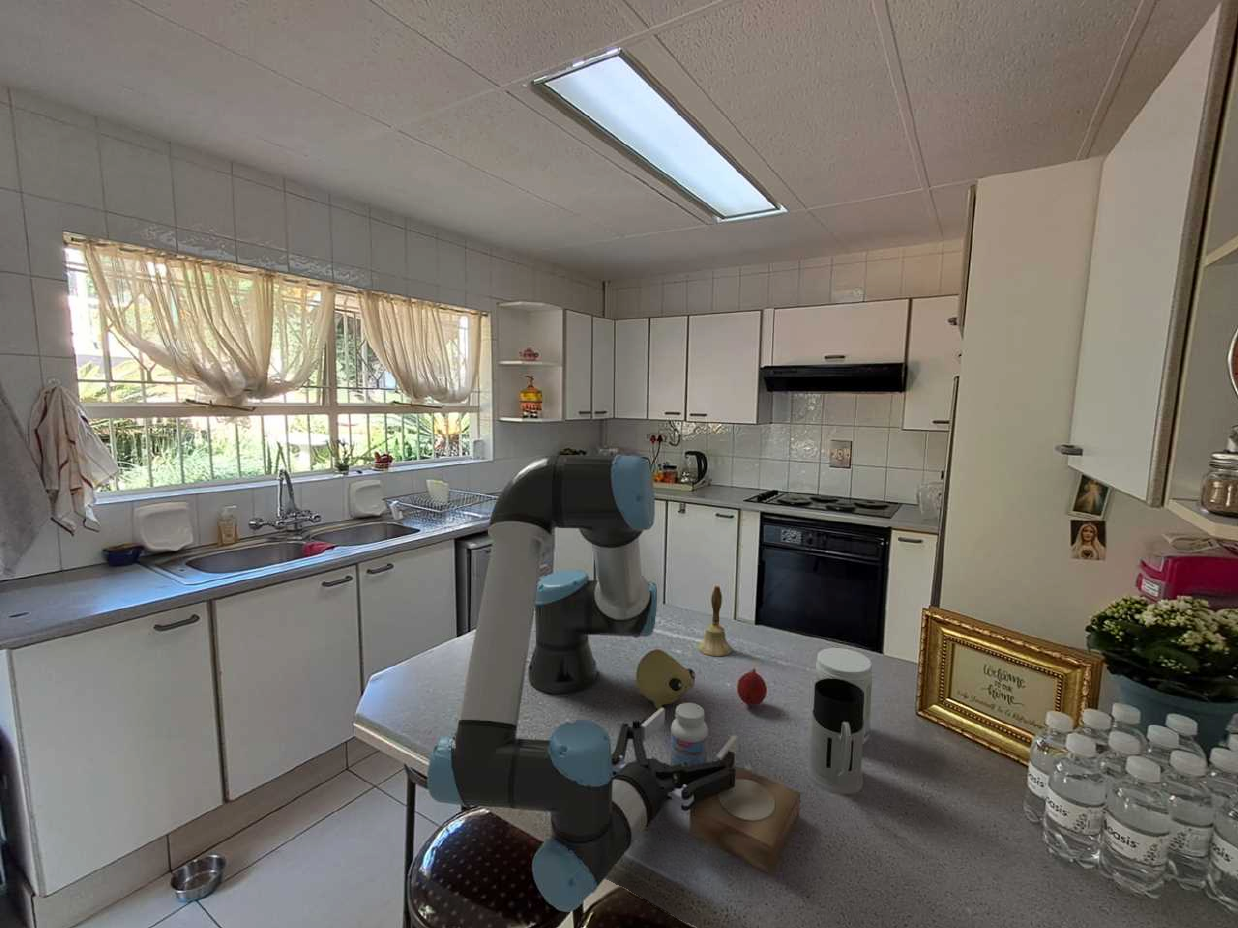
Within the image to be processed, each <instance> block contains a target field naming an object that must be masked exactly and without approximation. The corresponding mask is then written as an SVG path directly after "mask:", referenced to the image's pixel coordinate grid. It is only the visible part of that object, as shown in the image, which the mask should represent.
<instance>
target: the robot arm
mask: <svg viewBox="0 0 1238 928" xmlns="http://www.w3.org/2000/svg"><path fill="white" fill-rule="evenodd" d="M654 491H655V490H654V480H653V474H652V471H651V467H650V464H649V462H648V461H647V460H646V459H645V458H644V457H641V456H633V455H627V454H613V455H612V454H605V455H604V454H596V455H595V454H588V455H587V454H586V455H585V454H575V455H573V454H568V455H567V454H548V455H544V456H541V457H537V458H536V459H534V460H532V461H531V462H529V463H528V464H526V465H525V466H523V467H522V468H521V469H520V470H519V471H517V472H516V473H515V475H514V476H513V477H511V479H510V480H509V481H508V483H507V484H506V485H505V487H504V488H503V490H502V491H501V492H500V494H499V496H498V498H497V499H496V501H495V505H494V507H493V509H492V512H491V515H490V519H489V523H488V529H487V534H488V536H489V537H490V538H491V540H492V545H491V550H490V555H489V559H488V563H487V564H488V565H487V570H486V576H485V580H484V586H483V591H482V595H481V596H482V597H481V602H480V607H479V611H478V617H477V623H476V628H475V633H474V638H473V643H472V649H471V653H470V659H469V662H468V663H469V664H468V670H467V675H466V680H465V684H464V691H463V694H462V695H463V696H462V701H461V706H460V711H459V715H458V723H457V727H456V731H455V733H451V734H450V733H449V734H448V733H447V734H444V735H442V736H441V737H439V739H438V740H437V742H436V743H435V745H434V746H433V747H434V748H433V752H432V754H431V755H430V758H429V763H428V767H427V768H428V769H427V773H426V774H427V776H426V777H427V778H426V779H427V780H426V783H427V790H428V793H429V795H430V797H431V798H432V799H433V800H434V801H436V802H438V803H442V804H450V805H456V806H457V805H458V806H463V807H464V808H469V807H483V808H484V807H486V808H501V809H502V808H504V809H513V810H514V809H515V810H523V811H534V812H535V811H536V812H549V813H550V831H551V833H550V836H549V837H548V838H547V839H545V840H544V842H542V844H541V845H540V847H539V848H538V849H537V851H536V852H535V854H534V856H533V858H532V863H531V868H532V876H533V880H534V882H535V884H536V888H537V890H538V891H539V893H540V894H541V896H542V897H543V898H544V900H545V901H546V902H547V903H549V905H551V906H553V907H554V908H555V909H556V910H558V911H560V912H563V913H564V912H566V913H568V912H573V911H575V910H576V909H578V908H579V907H580V906H581V905H582V904H583V903H584V902H585V900H587V898H588V897H589V896H590V895H591V894H594V893H595V892H596V890H597V889H598V888H599V886H600V885H601V884H602V882H603V881H604V879H605V878H607V876H608V875H609V874H610V872H612V870H613V869H614V868H615V866H616V865H617V864H618V862H619V861H620V860H621V858H622V857H623V856H624V855H625V853H626V852H627V851H628V850H629V848H631V846H632V845H633V844H634V843H635V842H636V840H637V839H638V838H639V837H640V836H641V834H642V833H643V832H644V831H645V830H646V828H647V827H648V826H649V825H650V824H651V823H652V821H654V819H655V818H656V817H657V816H658V815H659V813H660V812H661V811H662V809H663V807H664V805H665V804H666V802H668V801H672V800H675V801H676V802H678V803H679V804H680V809H681V810H682V811H684V812H688V811H690V808H691V807H692V806H694V805H695V804H696V803H698V802H700V801H702V800H705V799H707V798H709V797H712V796H714V795H716V794H719V793H721V792H723V791H726V790H728V789H730V788H733V787H735V771H736V770H735V768H733V767H732V766H733V765H735V755H736V754H737V753H738V741H739V739H738V738H739V737H738V736H737V735H735V734H733V735H732V736H731V737H730V738H729V740H728V741H727V742H726V743H725V744H724V745H723V747H722V748H721V749H720V750H719V752H718V753H717V754H716V755H715V760H713V761H707V763H701V764H696V765H690V766H685V767H682V766H681V765H679V764H678V765H673V766H670V764H668V763H666V762H662V761H660V760H658V759H657V758H654V757H652V758H648V757H647V756H648V755H647V753H646V749H645V745H644V743H646V741H648V740H649V738H651V737H652V736H653V735H654V734H655V733H656V732H657V731H658V730H659V729H660V728H661V727H662V726H663V725H664V724H665V723H666V722H665V720H666V717H665V716H666V715H665V714H666V712H665V711H666V709H665V708H664V707H663V706H662V707H661V708H660V709H657V711H655V712H654V713H653V714H652V715H651V716H650V717H648V718H646V717H645V718H644V719H642V720H641V721H639V720H634V721H632V726H629V723H627V722H623V723H622V724H621V725H620V729H619V733H618V737H617V742H616V746H615V750H614V752H613V753H612V744H611V741H612V740H611V738H610V735H609V732H608V731H607V729H605V728H604V727H603V726H601V725H600V724H598V723H597V722H594V721H590V720H585V719H584V720H583V719H579V720H578V719H577V720H575V721H573V722H570V721H569V722H565V723H563V724H560V725H559V726H558V727H556V728H555V729H554V731H552V734H551V735H550V739H549V740H544V739H531V738H517V731H518V725H519V716H520V711H521V704H522V697H523V691H524V684H525V674H526V669H527V662H528V654H529V647H530V641H531V634H532V629H533V628H532V627H533V621H534V620H533V619H534V618H535V624H534V625H535V645H534V650H533V653H532V655H531V659H530V662H529V666H528V682H529V684H530V685H531V686H532V687H533V688H535V689H536V690H538V691H541V692H544V693H548V694H557V695H559V694H560V695H562V694H571V693H575V692H579V691H583V690H584V689H586V688H588V687H589V686H590V685H592V684H593V683H594V682H595V680H596V679H597V662H596V660H595V659H594V657H593V653H592V649H591V646H590V644H589V635H590V636H607V637H608V636H609V637H633V638H636V639H638V638H641V637H642V638H647V637H650V636H651V635H652V634H653V633H654V630H655V625H656V617H657V616H656V615H657V610H658V609H657V608H658V607H657V605H658V588H657V584H656V582H653V581H652V582H651V581H650V580H647V579H646V577H645V576H644V575H643V574H642V565H641V564H642V563H641V550H640V537H641V535H642V534H643V532H644V531H648V530H650V529H651V528H652V527H653V525H654V522H655V521H654V520H655V514H656V512H655V511H656V510H655V508H656V507H655V506H656V501H655V492H654ZM555 528H557V529H576V530H577V529H578V530H579V532H580V535H582V537H583V539H584V540H585V541H587V542H588V543H589V544H590V545H591V550H592V554H593V560H594V564H595V569H596V574H597V579H590V577H589V574H588V573H587V572H586V571H583V570H577V569H569V570H568V569H567V570H562V571H557V572H556V571H555V572H554V573H550V574H548V575H547V574H546V575H545V576H544V577H542V578H540V573H541V572H540V570H541V565H542V564H541V563H542V557H543V550H544V548H545V547H546V546H548V545H549V544H550V543H551V541H552V534H553V533H552V532H553V529H555ZM539 578H540V579H539ZM534 616H535V617H534ZM629 740H631V741H632V745H633V746H632V747H633V751H634V757H635V761H630V762H627V763H626V764H625V757H626V751H627V747H628V744H629V743H628V742H629ZM674 774H677V780H676V779H675V778H674Z"/></svg>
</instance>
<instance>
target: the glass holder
mask: <svg viewBox="0 0 1238 928" xmlns="http://www.w3.org/2000/svg"><path fill="white" fill-rule="evenodd" d="M863 709H864V692H863V691H862V690H861V689H860V688H859V687H858V686H856V685H855V684H853V683H850V682H848V681H844V680H840V679H832V678H830V679H822V680H819V681H817V682H816V681H815V684H814V694H813V708H812V711H811V731H810V733H811V734H810V751H809V753H810V754H809V755H810V756H809V762H808V763H807V765H806V774H807V776H808V778H809V779H810V780H811V782H813V783H814V785H816V786H818V787H819V788H820V789H823V790H825V791H827V792H830V793H833V794H837V795H853V794H855V793H858V792H860V791H861V789H863V787H864V778H863V776H862V760H863V747H864V746H863V745H864V744H863V729H864V719H863Z"/></svg>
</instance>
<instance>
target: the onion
mask: <svg viewBox="0 0 1238 928" xmlns="http://www.w3.org/2000/svg"><path fill="white" fill-rule="evenodd" d="M756 670H757V669H756V668H755V667H751V668H750V669H749V671H748V672H746V673H744V674H743V675H741V677H740V678H739V679H738V681H737V685H736V686H737V687H736V689H737V694H738V696H739V698H740V700H741V701H742V702H743V703H744V704H746V705H747V706H749V707H751V708H753V707H756V706H758V705H760V704H761V703H763V701H764V700H765V698H766V697H767V691H768V689H767V688H768V687H767V684H766V682H765V680H764V679H763V677H762V676H761V675H760V674H758V672H757V671H756Z"/></svg>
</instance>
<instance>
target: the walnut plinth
mask: <svg viewBox="0 0 1238 928" xmlns="http://www.w3.org/2000/svg"><path fill="white" fill-rule="evenodd" d="M732 767H733V768H735V770H736V771H735V787H733V788H730V789H728V790H726V791H723V792H721V793H719V794H716V795H714V796H712V797H709V798H707V799H705V800H702V801H700V802H698V803H696V804H695V805H694V806H692V807H691V808H690V809H689V833H690V834H692V835H694V836H695V837H698V838H700V839H702V840H704V841H706V842H708V843H709V844H711V845H714V846H715V847H718V848H719V849H721V850H723V851H725V852H728V853H729V854H731V855H733V856H734V857H736V858H739V859H741V860H743V861H744V862H747V863H748V864H751V865H752V866H755V867H756V868H758V869H761V870H762V871H764V872H766V873H768V874H771V875H772V873H773V872H774V869H775V866H777V865H776V864H778V863H777V862H778V861H779V859H780V857H781V855H782V852H783V851H784V849H785V846H786V845H787V843H788V841H789V838H790V836H791V835H792V833H793V830H794V829H795V827H796V824H797V822H798V821H799V818H800V812H801V811H800V809H801V808H800V806H801V792H800V791H797V790H795V789H793V788H791V787H788V786H786V785H784V784H781V783H778V782H776V781H773V780H772V779H768V778H766V777H764V776H762V775H759V774H757V773H754V772H751V771H750V770H747V769H744V768H742V767H739V766H737V765H735V764H734V765H733V766H732Z"/></svg>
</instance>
